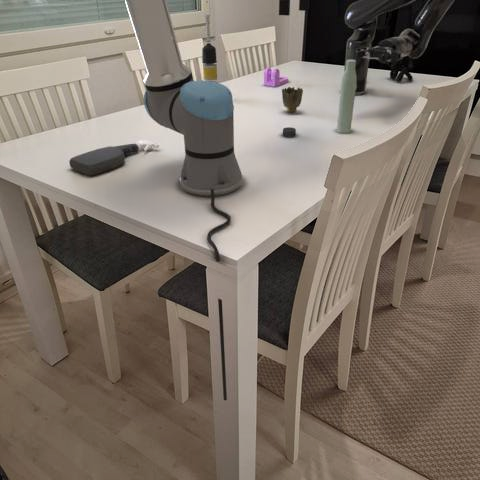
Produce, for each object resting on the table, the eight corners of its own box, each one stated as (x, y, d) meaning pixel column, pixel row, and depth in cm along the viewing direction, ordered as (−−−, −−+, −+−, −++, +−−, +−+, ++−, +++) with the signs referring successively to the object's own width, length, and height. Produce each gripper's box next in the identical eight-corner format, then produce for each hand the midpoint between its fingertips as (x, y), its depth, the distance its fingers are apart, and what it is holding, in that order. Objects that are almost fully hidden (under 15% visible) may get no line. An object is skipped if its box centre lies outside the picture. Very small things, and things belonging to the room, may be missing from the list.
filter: (220, 99, 177) (217, 15, 161) (206, 100, 176) (202, 16, 160) (215, 96, 182) (212, 14, 166) (202, 97, 180) (197, 14, 164)
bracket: (274, 86, 193) (275, 69, 190) (264, 85, 196) (264, 68, 193) (290, 81, 202) (291, 64, 198) (279, 79, 205) (280, 63, 201)
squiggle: (400, 92, 202) (376, 71, 205) (417, 76, 202) (392, 56, 205) (405, 81, 191) (380, 59, 194) (423, 64, 191) (397, 42, 194)
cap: (294, 138, 138) (294, 131, 137) (281, 136, 139) (281, 130, 138) (296, 133, 141) (297, 127, 140) (284, 132, 142) (284, 126, 141)
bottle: (335, 132, 142) (342, 61, 130) (338, 128, 145) (346, 58, 134) (348, 134, 140) (356, 62, 129) (352, 129, 143) (360, 59, 132)
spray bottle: (67, 168, 120) (139, 144, 136) (91, 178, 114) (163, 151, 130) (65, 157, 118) (137, 134, 134) (89, 167, 112) (162, 142, 128)
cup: (277, 113, 160) (278, 90, 155) (285, 108, 165) (286, 85, 161) (297, 115, 157) (298, 92, 152) (304, 110, 162) (306, 87, 158)
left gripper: (292, -88, 100) (288, 17, 111) (329, -81, 118) (323, 9, 129) (262, -86, 103) (261, 16, 114) (303, -80, 121) (299, 8, 132)
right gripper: (373, 36, 151) (349, 42, 141) (414, 39, 143) (392, 46, 133) (370, 59, 155) (347, 67, 145) (410, 64, 147) (388, 72, 137)
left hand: (294, 12), depth 122 cm, fingers open, 13 cm apart
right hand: (369, 57), depth 139 cm, fingers open, 8 cm apart
